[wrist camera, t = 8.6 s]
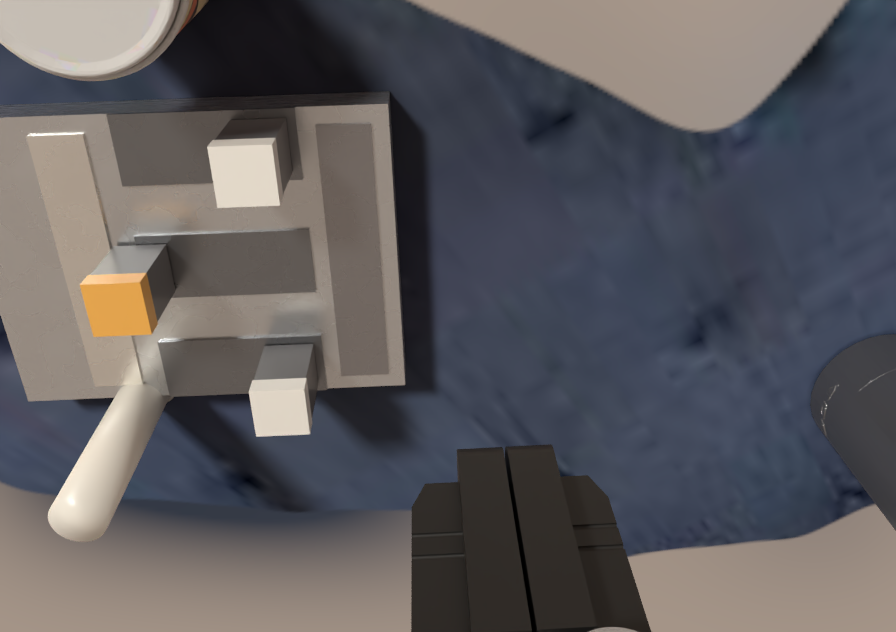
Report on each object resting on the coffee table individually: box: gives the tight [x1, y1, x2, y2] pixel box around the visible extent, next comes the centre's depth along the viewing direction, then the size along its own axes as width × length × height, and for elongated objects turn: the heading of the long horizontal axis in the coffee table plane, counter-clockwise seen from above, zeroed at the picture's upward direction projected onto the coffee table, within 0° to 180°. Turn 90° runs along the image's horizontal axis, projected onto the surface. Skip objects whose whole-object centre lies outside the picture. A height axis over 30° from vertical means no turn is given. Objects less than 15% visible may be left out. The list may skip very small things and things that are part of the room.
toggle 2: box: [207, 118, 293, 208], centre depth 42 cm, size 3×3×5 cm
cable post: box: [48, 383, 174, 542], centre depth 48 cm, size 4×4×14 cm
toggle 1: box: [80, 244, 176, 337], centre depth 45 cm, size 3×3×5 cm
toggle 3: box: [249, 344, 318, 437], centre depth 48 cm, size 3×3×5 cm
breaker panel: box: [0, 91, 406, 401], centre depth 49 cm, size 24×18×3 cm
